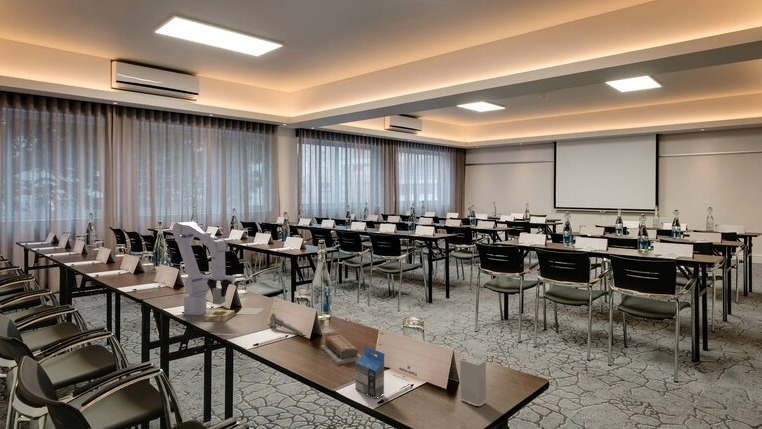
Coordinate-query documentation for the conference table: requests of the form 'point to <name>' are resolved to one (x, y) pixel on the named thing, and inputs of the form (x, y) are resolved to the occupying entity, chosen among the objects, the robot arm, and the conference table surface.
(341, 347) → the packaged product
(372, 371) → the label tape cartridge
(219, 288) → the key peg
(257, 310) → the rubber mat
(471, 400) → the skincare box
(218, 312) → the holder block
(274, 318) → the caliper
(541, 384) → the conference table surface
